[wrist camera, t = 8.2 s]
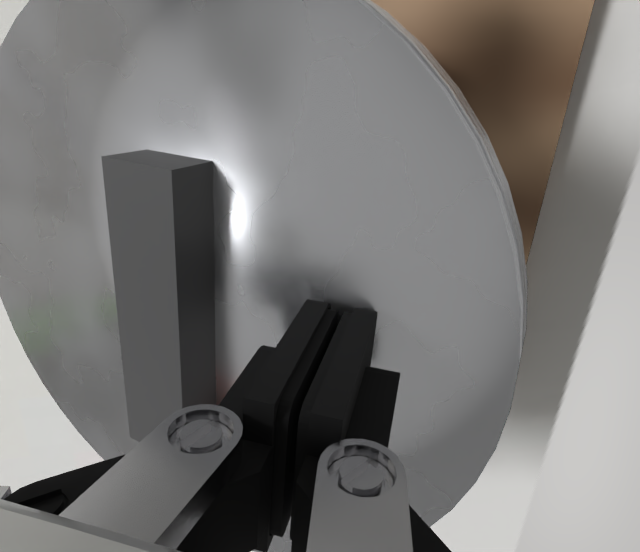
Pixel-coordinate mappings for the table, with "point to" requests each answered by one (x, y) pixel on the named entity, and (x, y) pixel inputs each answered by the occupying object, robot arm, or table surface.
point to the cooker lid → (254, 216)
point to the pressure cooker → (508, 77)
